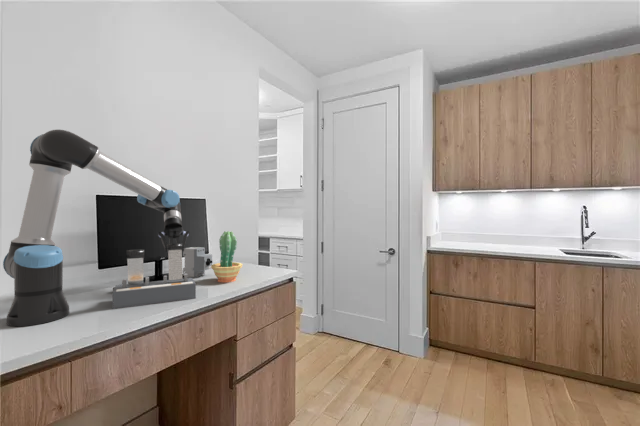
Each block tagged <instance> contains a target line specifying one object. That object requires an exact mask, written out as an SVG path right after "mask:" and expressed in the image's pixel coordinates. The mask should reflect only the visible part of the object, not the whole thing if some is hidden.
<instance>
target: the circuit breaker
mask: <svg viewBox="0 0 640 426" xmlns="http://www.w3.org/2000/svg"><path fill="white" fill-rule="evenodd" d="M205 252H206V247H200V246H197V247H196V246H191V247H185V248H184V251H182V258H183V257H184V267H182V275H184V274H186V273H187V275H188V278H199V277H202V276H204V275H205V274H206V272H205V271H207V270H211V269H212V268H211V265H213V264H214V263H213V262H214V261H213V254H207V253H205Z"/></svg>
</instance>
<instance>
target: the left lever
mask: <svg viewBox="0 0 640 426" xmlns="http://www.w3.org/2000/svg"><path fill="white" fill-rule="evenodd" d="M144 258H145V249H129V250H128V249H126V252H125V259H126V261H127V262H126V263H127V284H128V286H134V285H143V282H144Z"/></svg>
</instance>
